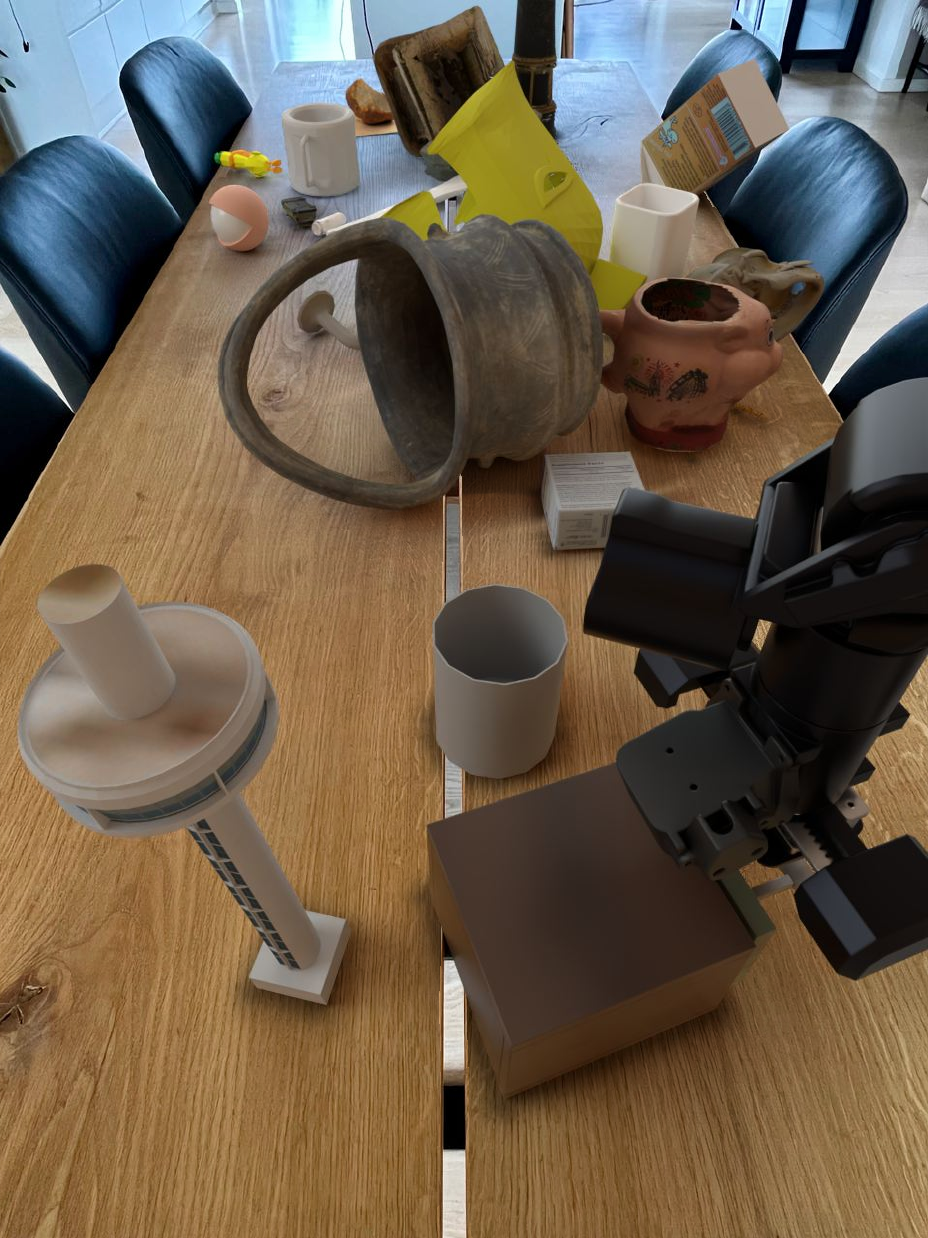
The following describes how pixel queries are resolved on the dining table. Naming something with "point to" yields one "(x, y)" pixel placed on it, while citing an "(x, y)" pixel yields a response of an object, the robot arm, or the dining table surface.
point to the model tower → (171, 750)
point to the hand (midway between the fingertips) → (738, 854)
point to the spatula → (438, 193)
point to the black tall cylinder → (536, 56)
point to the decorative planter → (687, 359)
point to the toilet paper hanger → (324, 319)
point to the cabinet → (576, 927)
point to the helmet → (519, 181)
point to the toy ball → (238, 217)
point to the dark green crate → (300, 211)
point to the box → (584, 495)
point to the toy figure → (248, 162)
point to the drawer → (759, 904)
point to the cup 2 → (653, 230)
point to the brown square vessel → (435, 74)
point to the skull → (767, 284)
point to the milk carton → (713, 132)
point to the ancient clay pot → (441, 349)
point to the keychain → (749, 411)
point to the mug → (321, 148)
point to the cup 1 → (497, 679)
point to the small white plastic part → (328, 223)
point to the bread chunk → (369, 110)
